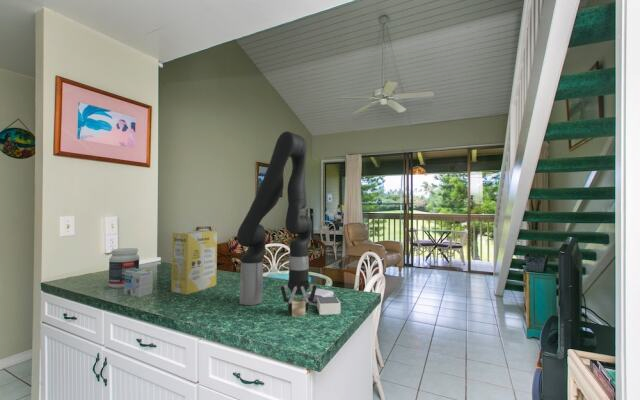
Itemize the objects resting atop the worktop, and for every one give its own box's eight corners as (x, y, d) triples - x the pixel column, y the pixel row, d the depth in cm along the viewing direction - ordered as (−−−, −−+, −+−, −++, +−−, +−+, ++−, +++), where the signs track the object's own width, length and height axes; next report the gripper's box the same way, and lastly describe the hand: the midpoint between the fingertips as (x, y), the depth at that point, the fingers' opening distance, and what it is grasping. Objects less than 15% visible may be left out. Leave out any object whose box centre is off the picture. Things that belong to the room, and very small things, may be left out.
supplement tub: (127, 289, 144) (128, 251, 144) (101, 288, 144) (103, 251, 145) (144, 282, 157) (144, 247, 157) (120, 282, 157) (121, 247, 157)
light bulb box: (123, 294, 135) (123, 270, 136) (137, 290, 142) (137, 268, 142) (139, 297, 131) (140, 273, 132) (153, 293, 138) (153, 270, 138)
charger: (339, 298, 133) (323, 308, 120) (322, 295, 137) (304, 304, 125) (339, 287, 133) (323, 296, 120) (322, 285, 138) (304, 292, 125)
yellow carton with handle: (201, 282, 157) (202, 230, 158) (216, 285, 152) (217, 231, 153) (171, 291, 141) (172, 232, 141) (186, 294, 136) (188, 233, 137)
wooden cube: (292, 316, 110) (292, 303, 110) (291, 311, 115) (291, 298, 115) (305, 316, 110) (305, 302, 110) (304, 311, 115) (304, 298, 115)
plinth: (319, 314, 112) (319, 303, 112) (317, 307, 120) (317, 296, 120) (340, 313, 113) (340, 302, 113) (336, 306, 121) (336, 296, 121)
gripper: (279, 269, 108) (279, 316, 108) (318, 269, 110) (318, 315, 110) (279, 265, 116) (279, 309, 115) (316, 265, 118) (315, 308, 117)
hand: (298, 312), depth 113 cm, fingers closed on wooden cube, 5 cm apart
